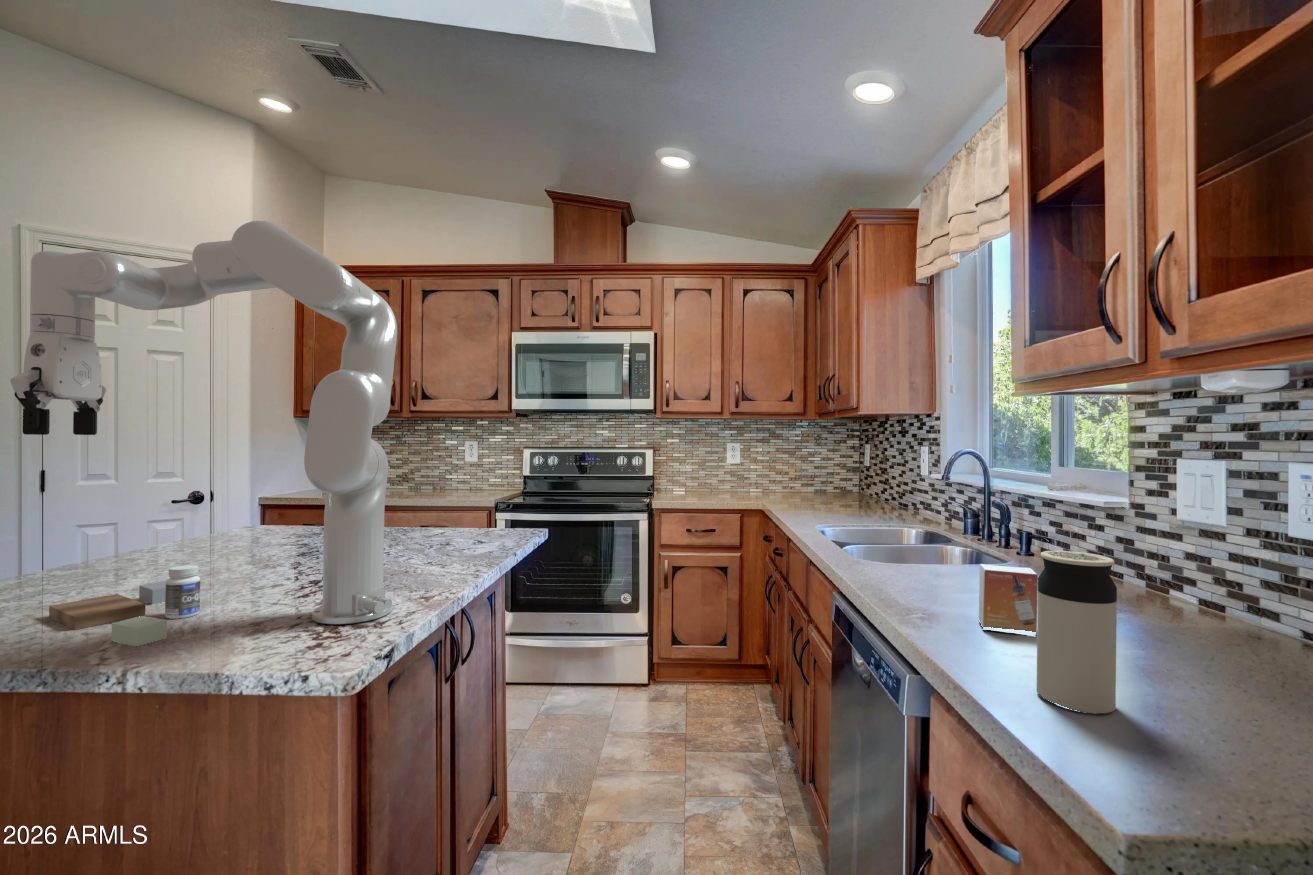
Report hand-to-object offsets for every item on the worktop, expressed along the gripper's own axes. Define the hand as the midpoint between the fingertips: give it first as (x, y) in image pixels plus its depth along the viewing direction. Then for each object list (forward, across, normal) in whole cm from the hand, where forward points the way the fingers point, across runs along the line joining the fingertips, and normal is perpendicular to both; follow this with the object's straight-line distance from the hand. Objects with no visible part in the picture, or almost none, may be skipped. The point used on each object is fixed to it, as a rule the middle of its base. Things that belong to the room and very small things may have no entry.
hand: (61, 434), depth 97 cm
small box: (+32, -23, -156) cm, 161 cm away
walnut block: (+31, +4, -3) cm, 32 cm away
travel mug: (+31, -49, -144) cm, 155 cm away
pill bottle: (+31, +3, -16) cm, 36 cm away
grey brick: (+32, +14, -6) cm, 35 cm away
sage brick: (+32, -10, -17) cm, 37 cm away
